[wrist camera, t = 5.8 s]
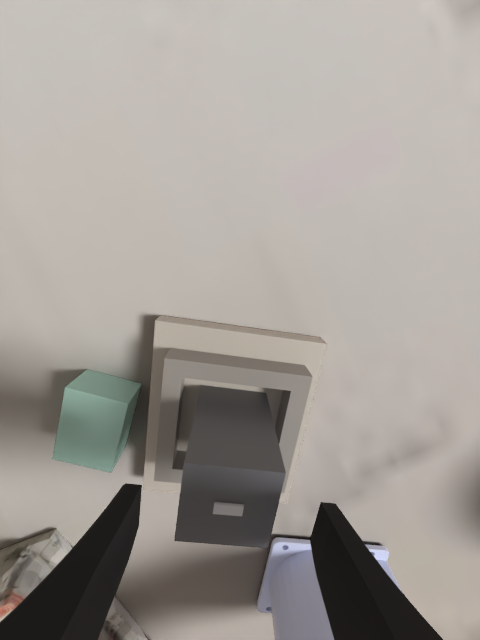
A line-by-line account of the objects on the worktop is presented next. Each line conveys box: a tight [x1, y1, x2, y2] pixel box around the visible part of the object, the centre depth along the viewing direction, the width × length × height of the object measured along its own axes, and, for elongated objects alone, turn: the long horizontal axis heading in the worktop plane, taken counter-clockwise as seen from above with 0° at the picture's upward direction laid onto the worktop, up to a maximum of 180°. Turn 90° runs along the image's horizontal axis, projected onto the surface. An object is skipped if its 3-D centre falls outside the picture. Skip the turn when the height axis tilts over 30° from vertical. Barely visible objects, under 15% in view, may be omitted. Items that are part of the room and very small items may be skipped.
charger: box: [175, 385, 286, 548], centre depth 14 cm, size 4×4×6 cm
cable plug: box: [52, 369, 142, 473], centre depth 17 cm, size 4×6×2 cm, turn 162°
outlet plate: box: [143, 315, 327, 503], centre depth 16 cm, size 10×12×3 cm
